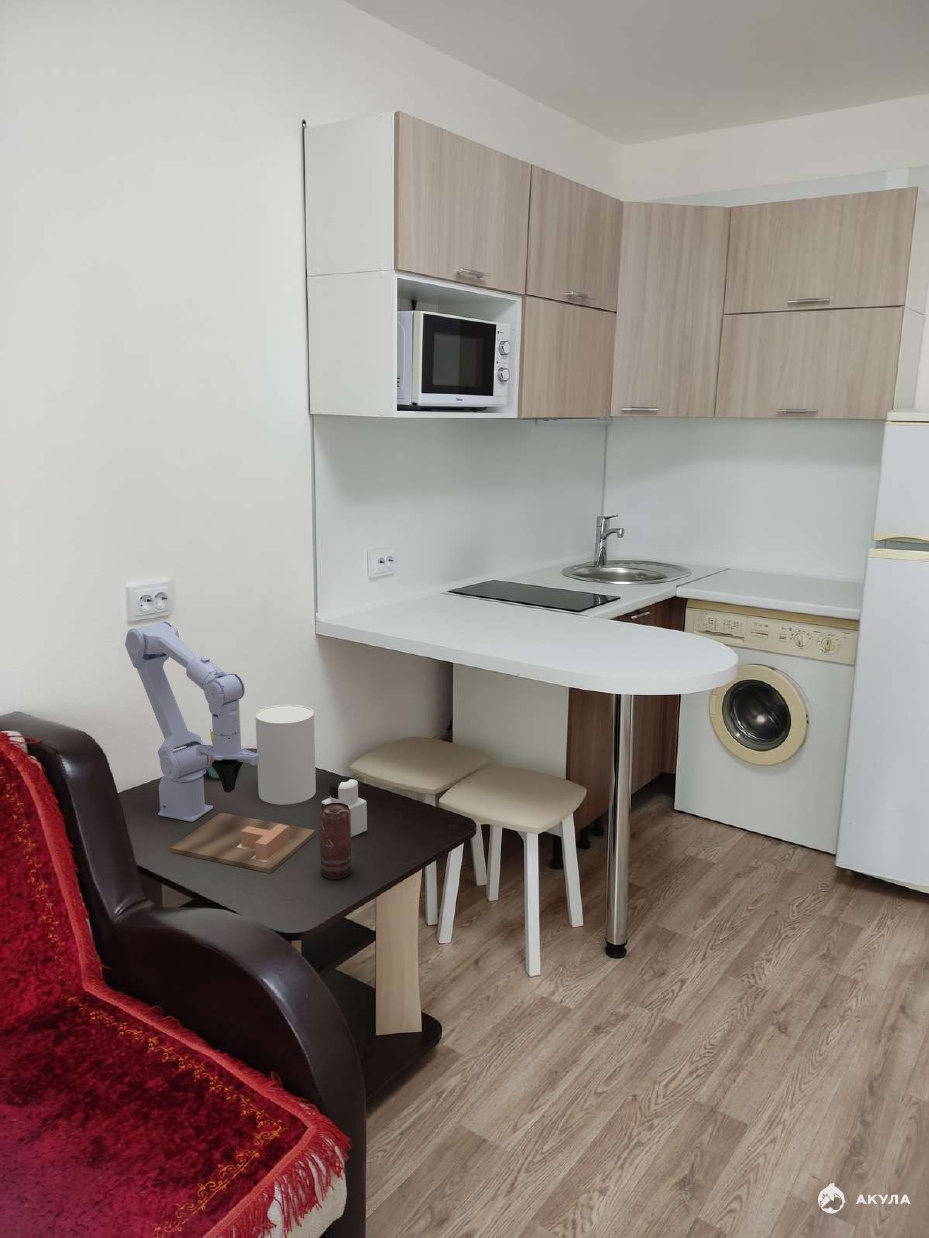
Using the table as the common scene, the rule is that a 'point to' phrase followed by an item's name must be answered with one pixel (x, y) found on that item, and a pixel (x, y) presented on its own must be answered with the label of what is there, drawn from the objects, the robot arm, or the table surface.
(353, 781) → the medicine bottle
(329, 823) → the can
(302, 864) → the table surface
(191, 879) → the table surface
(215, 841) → the board
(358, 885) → the table surface
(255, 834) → the t block
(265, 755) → the canister
